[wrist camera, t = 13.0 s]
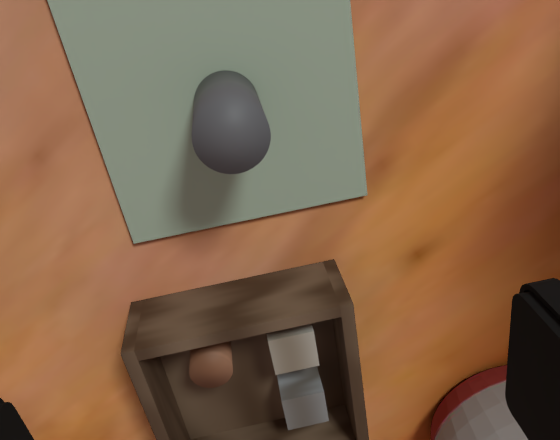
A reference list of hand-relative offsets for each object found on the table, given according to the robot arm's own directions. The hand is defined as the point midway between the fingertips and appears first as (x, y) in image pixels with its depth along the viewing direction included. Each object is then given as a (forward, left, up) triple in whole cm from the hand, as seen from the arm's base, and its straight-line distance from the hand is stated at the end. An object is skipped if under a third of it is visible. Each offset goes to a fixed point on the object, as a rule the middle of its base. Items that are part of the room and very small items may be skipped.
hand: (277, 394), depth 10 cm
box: (+2, +19, -22) cm, 29 cm away
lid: (0, 0, -22) cm, 22 cm away
